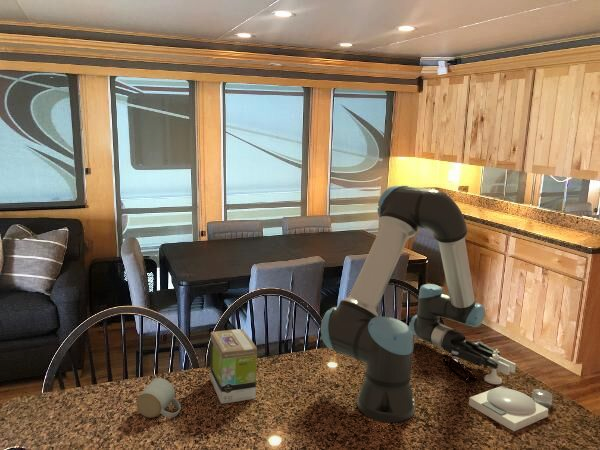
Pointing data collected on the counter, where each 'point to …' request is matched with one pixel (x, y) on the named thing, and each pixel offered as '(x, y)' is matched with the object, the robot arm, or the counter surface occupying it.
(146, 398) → the ceramic mug
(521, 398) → the scale
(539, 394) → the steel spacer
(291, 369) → the counter surface
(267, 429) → the counter surface
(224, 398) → the tea box
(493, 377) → the chess piece
